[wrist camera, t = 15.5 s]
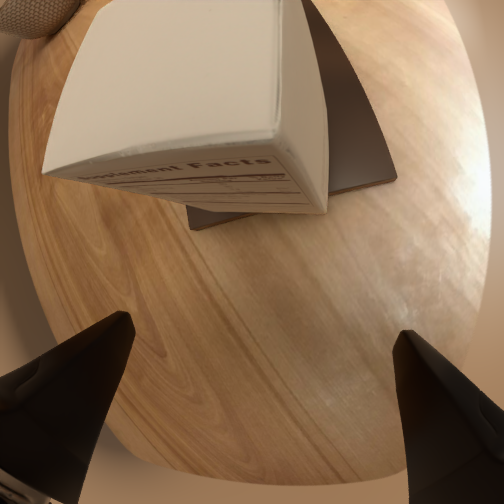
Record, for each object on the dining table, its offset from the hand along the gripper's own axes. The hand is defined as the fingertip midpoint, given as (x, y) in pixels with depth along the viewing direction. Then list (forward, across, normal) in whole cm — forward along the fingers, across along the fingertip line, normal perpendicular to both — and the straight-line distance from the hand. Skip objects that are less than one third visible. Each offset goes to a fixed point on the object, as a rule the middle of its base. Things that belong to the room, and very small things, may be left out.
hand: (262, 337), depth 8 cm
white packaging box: (+12, 0, -4) cm, 12 cm away
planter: (+42, +49, -40) cm, 76 cm away
